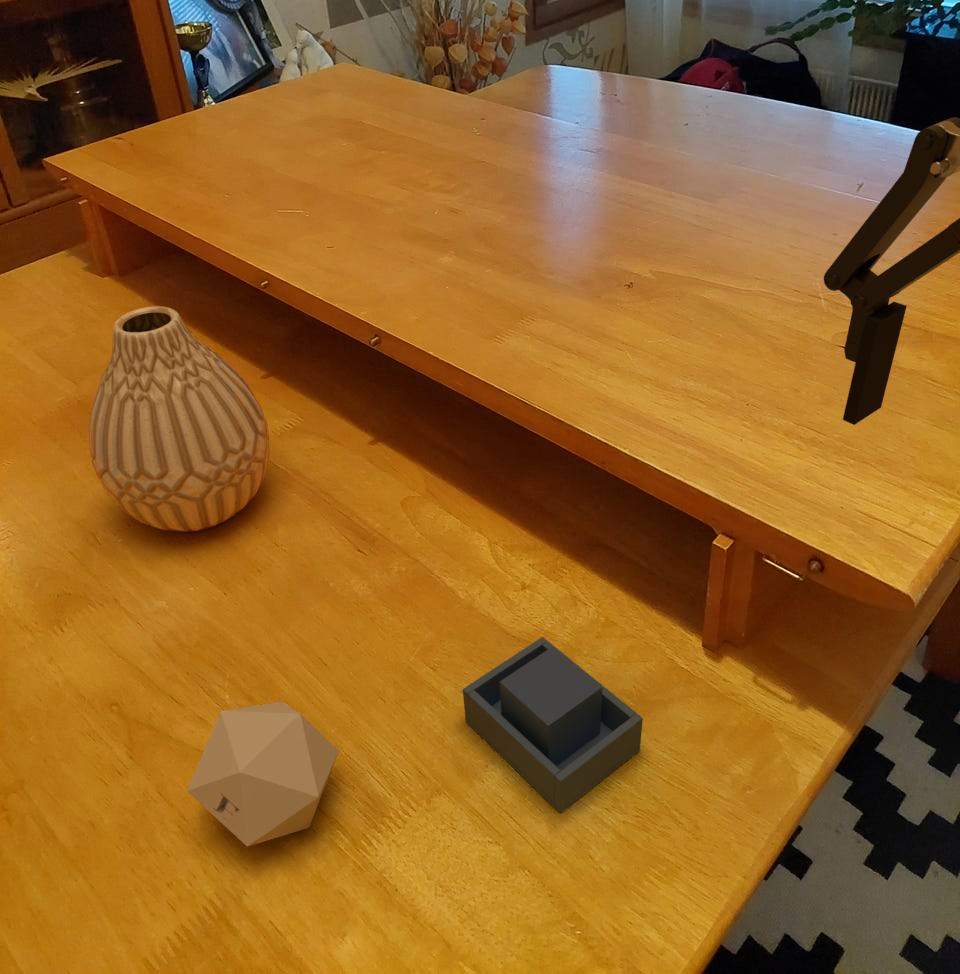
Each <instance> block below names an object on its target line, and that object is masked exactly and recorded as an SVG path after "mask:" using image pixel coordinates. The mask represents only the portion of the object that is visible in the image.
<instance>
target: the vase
mask: <svg viewBox="0 0 960 974" xmlns="http://www.w3.org/2000/svg"><path fill="white" fill-rule="evenodd" d="M111 347H112V348H111V355H110V358H109V361H108V363H107V364H106V367H105V369H104V370H103V373H102V375H101V377H100V379H99V382H98V384H97V387H96V390H95V393H94V396H93V399H92V402H91V407H90V412H89V419H88V420H89V423H88V446H89V455H90V459H91V464H92V467H93V470H94V472H95V475H96V477H97V479H98V480H99V482H100V484H101V486H102V488H103V489H104V491H105V492H106V494H107V496H108V497H110V499H111V500H112V501H113V502H114V504H116V505H117V506H118V507H119V508H120V509H121V510H122V511H124V512H125V513H126V514H128V515H129V516H130V517H131V518H133V519H135V520H137V522H140V523H141V524H144V525H147V526H149V527H153V528H156V529H159V530H163V531H169V532H170V531H171V532H187V533H188V532H197V531H202V530H207V529H210V528H213V527H216V526H219V525H220V524H223V523H224V522H227V520H229V519H230V518H233V517H234V516H236V515H237V514H238V513H239V512H240V511H241V510H243V509H244V508H245V507H246V506H247V505H248V504H249V502H251V500H252V499H253V498H254V497H255V495H256V494H257V492H258V491H259V489H260V487H261V485H262V483H263V481H264V478H265V476H266V472H267V468H268V464H269V459H270V431H269V426H268V422H267V418H266V416H265V413H264V411H263V409H262V406H261V404H260V403H259V400H258V398H257V397H256V394H255V393H254V392H253V390H252V389H251V387H250V385H249V384H248V382H246V380H245V378H243V376H242V375H241V374H240V373H239V372H238V370H236V369H235V368H234V366H232V365H231V364H230V363H229V362H228V361H227V360H226V359H224V357H222V356H221V355H220V354H218V353H217V352H216V351H215V350H213V349H212V348H210V347H209V346H208V345H206V344H205V343H204V342H202V341H200V340H199V339H198V338H197V337H196V336H195V335H194V333H193V332H192V331H191V330H190V329H189V327H188V325H187V324H186V323H185V321H184V319H183V318H182V316H181V315H180V314H179V312H177V310H175V309H173V308H171V307H168V306H161V305H159V306H158V305H155V306H146V307H145V306H144V307H140V308H136V309H134V310H130V311H128V312H126V313H124V314H123V315H121V316H119V318H117V319H116V321H115V322H114V324H113V327H112V346H111Z"/></svg>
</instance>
